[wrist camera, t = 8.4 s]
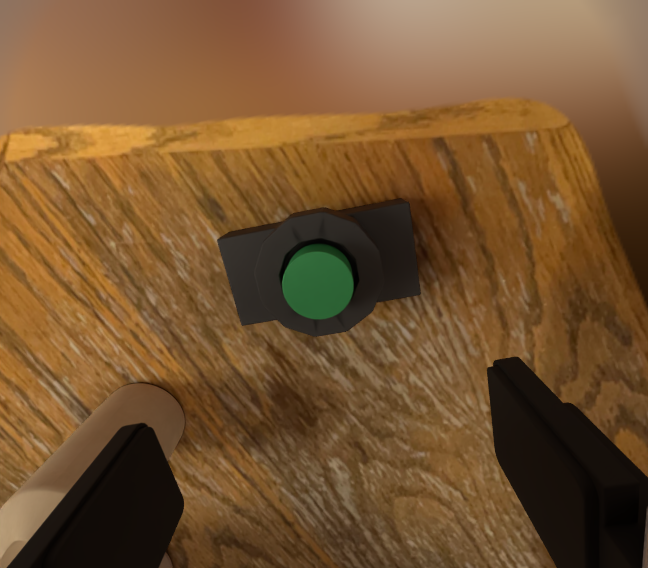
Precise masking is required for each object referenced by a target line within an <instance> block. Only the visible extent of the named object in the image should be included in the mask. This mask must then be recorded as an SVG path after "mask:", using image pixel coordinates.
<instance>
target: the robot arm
mask: <svg viewBox="0 0 648 568" xmlns="http://www.w3.org/2000/svg"><path fill="white" fill-rule="evenodd" d="M487 376H488V386H489V396H490V406H491V416H492V426H493V436H494V447H495V453H496V456H497V459H498V462H499V464H500V466H501V468H502V470H503V471H504V473H505V475H506V477H507V479H508V480H509V482H510V484H511V486H512V488H513V489H514V491H515V493H516V495H517V497H518V498H519V500H520V502H521V504H522V506H523V507H524V509H525V511H526V513H527V515H528V516H529V518H530V520H531V522H532V523H533V525H534V527H535V529H536V531H537V532H538V534H539V536H540V538H541V540H542V541H543V543H544V545H545V547H546V549H547V550H548V552H549V554H550V556H551V558H552V559H553V561H554V563H555V565H556V567H557V568H648V477H647V476H646V475H645V474H644V473H643V472H642V471H641V470H640V469H639V468H638V467H637V466H636V465H635V464H634V463H633V462H632V461H631V460H630V459H629V458H627V457H626V456H625V455H624V454H623V453H622V452H621V451H620V450H619V449H618V448H617V447H616V446H615V445H614V444H613V443H612V442H611V441H610V440H609V439H608V438H607V437H606V436H605V435H604V434H603V433H602V432H601V431H600V430H599V429H598V428H597V427H596V426H595V425H594V424H593V423H592V422H591V421H590V420H589V419H588V418H587V417H586V416H585V415H584V414H583V413H582V412H581V411H580V410H579V409H578V408H577V407H576V406H574V405H573V404H571V403H563V402H562V401H561V400H560V399H559V398H558V397H557V396H556V395H555V394H554V393H553V392H552V391H551V390H550V389H549V388H548V387H547V386H546V385H545V384H544V383H543V382H542V381H541V380H540V379H539V378H538V377H537V376H536V374H535V373H534V372H533V371H532V370H531V369H530V368H529V367H528V366H527V365H526V364H525V363H524V362H523V361H522V360H521V359H520V358H519V357H511V358H505V359H499V360H495V361H494V363H493V366H492V367H488V368H487ZM183 509H184V499H183V496H182V494H181V492H180V489H179V487H178V485H177V482H176V480H175V478H174V475H173V473H172V471H171V468H170V466H169V464H168V461H167V459H166V457H165V454H164V452H163V450H162V447H161V445H160V443H159V440H158V438H157V436H156V433H155V431H154V429H153V428H152V427H148V425H147V424H145V423H137V424H131V425H126V426H122V427H121V428H120V429H119V430H118V431H117V432H116V433H115V435H114V436H113V437H112V438H111V440H110V441H109V442H108V443H107V445H106V446H105V447H104V448H103V450H102V451H101V452H100V453H99V454H98V456H97V457H96V458H95V459H94V461H93V462H92V463H91V464H90V466H89V467H88V468H87V469H86V470H85V472H84V473H83V474H82V475H81V477H80V478H79V479H78V480H77V482H76V483H75V484H74V485H73V486H72V488H71V489H70V490H69V491H68V493H67V494H66V495H65V496H64V498H63V499H62V500H61V501H60V502H59V504H58V505H57V506H56V507H55V509H54V510H53V511H52V512H51V514H50V515H49V516H48V517H47V518H46V520H45V521H44V522H43V523H42V525H41V526H40V527H39V528H38V530H37V531H36V532H35V533H34V535H33V536H32V537H31V538H30V539H29V541H28V542H27V543H26V544H25V546H24V547H23V548H22V549H21V551H20V552H19V553H18V554H17V555H16V557H15V558H14V559H13V560H12V562H11V563H10V564H9V565H8V567H7V568H159V566H160V564H161V562H162V559H163V557H164V555H165V552H166V550H167V548H168V545H169V543H170V541H171V539H172V536H173V534H174V532H175V529H176V527H177V525H178V522H179V520H180V518H181V515H182V513H183Z"/></svg>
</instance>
